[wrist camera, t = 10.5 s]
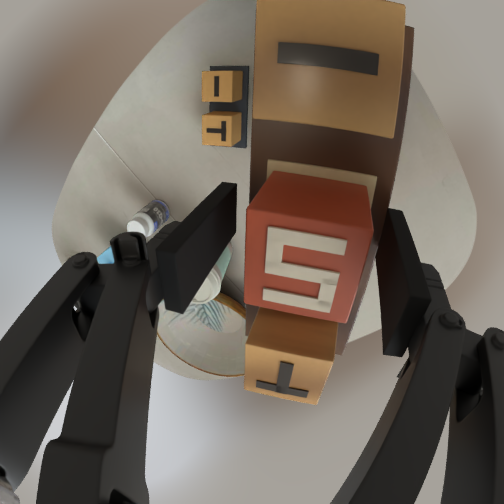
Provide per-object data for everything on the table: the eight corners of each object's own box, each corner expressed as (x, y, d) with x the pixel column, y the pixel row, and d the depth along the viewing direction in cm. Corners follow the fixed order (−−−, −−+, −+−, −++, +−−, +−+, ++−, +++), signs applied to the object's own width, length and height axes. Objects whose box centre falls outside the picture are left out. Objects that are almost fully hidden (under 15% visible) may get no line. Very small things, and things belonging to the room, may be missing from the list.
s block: (273, 170, 15) (244, 209, 11) (367, 185, 14) (374, 231, 10) (267, 249, 17) (242, 305, 13) (349, 264, 16) (346, 325, 12)
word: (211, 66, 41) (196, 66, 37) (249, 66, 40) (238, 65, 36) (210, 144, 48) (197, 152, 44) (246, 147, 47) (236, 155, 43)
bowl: (153, 305, 74) (136, 327, 67) (201, 245, 60) (183, 268, 53) (232, 363, 78) (222, 387, 71) (298, 322, 63) (291, 351, 57)
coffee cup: (192, 228, 58) (160, 264, 48) (233, 225, 55) (207, 263, 46) (204, 266, 62) (178, 305, 53) (244, 265, 59) (222, 307, 50)
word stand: (315, 54, 37) (217, -16, 7) (364, 61, 35) (445, 8, 5) (304, 182, 48) (223, 387, 18) (349, 189, 46) (335, 411, 16)
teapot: (136, 223, 61) (115, 242, 55) (154, 246, 63) (135, 266, 57) (109, 246, 67) (90, 264, 61) (125, 266, 69) (107, 285, 63)
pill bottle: (173, 219, 58) (151, 241, 51) (154, 222, 60) (131, 244, 53) (165, 197, 56) (140, 217, 49) (146, 201, 58) (121, 220, 51)
